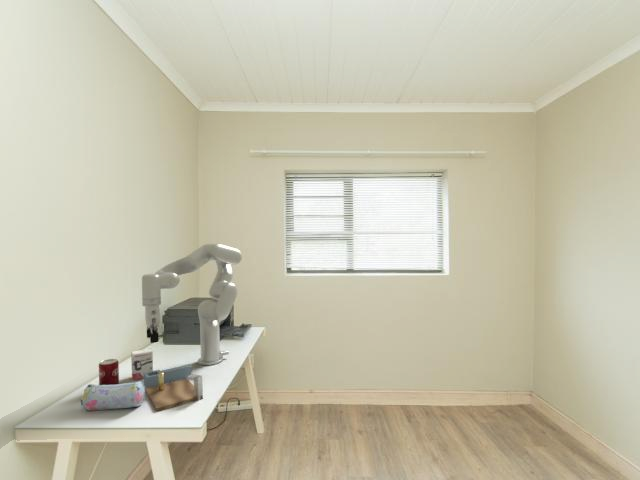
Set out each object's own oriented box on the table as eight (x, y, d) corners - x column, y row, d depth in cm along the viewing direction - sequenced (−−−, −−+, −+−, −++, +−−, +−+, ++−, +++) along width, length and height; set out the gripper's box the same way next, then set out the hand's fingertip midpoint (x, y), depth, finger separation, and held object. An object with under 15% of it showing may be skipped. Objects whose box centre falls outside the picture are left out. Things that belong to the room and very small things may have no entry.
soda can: (98, 394, 146) (97, 365, 146) (100, 388, 152) (99, 360, 152) (118, 390, 149) (118, 362, 149) (119, 384, 156) (118, 357, 156)
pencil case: (79, 414, 130) (78, 388, 130) (93, 403, 139) (92, 379, 138) (137, 411, 131) (136, 386, 131) (147, 401, 139) (147, 377, 139)
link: (146, 389, 150) (146, 377, 150) (143, 384, 155) (143, 373, 155) (192, 378, 161) (192, 367, 161) (188, 373, 166) (188, 363, 166)
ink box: (132, 380, 160) (132, 354, 160) (131, 376, 164) (131, 351, 164) (153, 375, 165) (152, 350, 165) (151, 372, 169) (151, 348, 169)
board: (187, 381, 158) (187, 378, 158) (202, 398, 140) (202, 395, 140) (145, 391, 148) (145, 388, 148) (156, 411, 130) (156, 408, 130)
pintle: (163, 391, 148) (163, 371, 148) (164, 393, 146) (164, 373, 146) (158, 392, 146) (157, 373, 146) (159, 394, 145) (158, 374, 145)
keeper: (187, 398, 140) (186, 376, 140) (191, 395, 143) (190, 374, 143) (198, 400, 139) (198, 378, 139) (202, 397, 141) (202, 375, 141)
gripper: (164, 303, 153) (165, 342, 153) (157, 298, 167) (158, 334, 167) (145, 305, 149) (146, 346, 149) (139, 300, 163) (140, 336, 163)
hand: (152, 339), depth 158 cm, fingers open, 9 cm apart
